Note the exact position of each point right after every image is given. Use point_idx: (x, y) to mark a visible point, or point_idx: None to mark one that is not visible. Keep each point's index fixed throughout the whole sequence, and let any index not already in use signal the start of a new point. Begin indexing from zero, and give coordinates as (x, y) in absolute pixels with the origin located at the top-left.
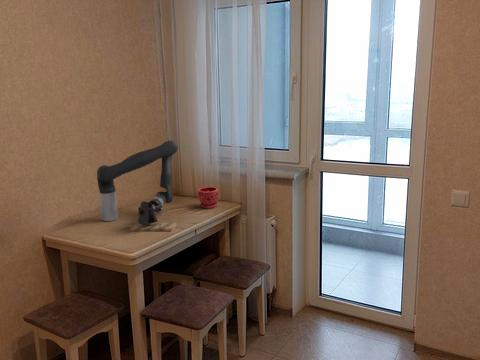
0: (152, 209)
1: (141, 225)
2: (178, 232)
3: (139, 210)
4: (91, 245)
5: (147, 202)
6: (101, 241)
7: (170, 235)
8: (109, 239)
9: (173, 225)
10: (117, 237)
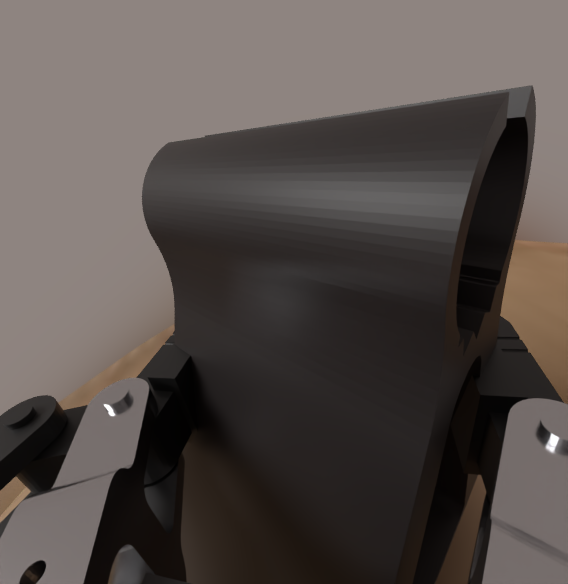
0: (180, 334)
1: (453, 546)
2: (73, 393)
3: (527, 352)
4: (560, 244)
5: (243, 140)
6: (561, 273)
7: (147, 349)
8: (538, 293)
9: (25, 494)
10: (510, 316)
